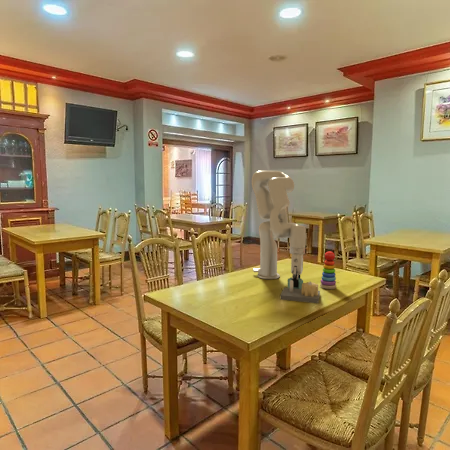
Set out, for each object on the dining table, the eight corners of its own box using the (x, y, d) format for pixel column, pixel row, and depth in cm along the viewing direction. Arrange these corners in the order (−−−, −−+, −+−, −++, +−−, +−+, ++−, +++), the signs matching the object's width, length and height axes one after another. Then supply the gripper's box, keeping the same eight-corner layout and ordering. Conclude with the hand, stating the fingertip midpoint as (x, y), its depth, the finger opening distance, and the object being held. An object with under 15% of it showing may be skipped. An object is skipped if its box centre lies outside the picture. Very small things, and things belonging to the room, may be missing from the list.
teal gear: (286, 289, 174) (286, 281, 174) (288, 284, 181) (289, 276, 181) (301, 291, 172) (302, 282, 171) (303, 286, 179) (303, 278, 178)
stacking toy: (337, 290, 174) (338, 253, 172) (320, 289, 176) (321, 252, 173) (335, 285, 182) (336, 250, 180) (319, 284, 184) (320, 249, 181)
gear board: (280, 299, 162) (280, 282, 161) (284, 291, 173) (284, 276, 172) (318, 303, 156) (318, 286, 155) (319, 294, 168) (320, 278, 167)
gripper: (303, 254, 164) (301, 290, 167) (306, 247, 181) (305, 280, 183) (287, 253, 166) (285, 289, 169) (291, 246, 183) (290, 278, 186)
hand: (295, 284), depth 176 cm, fingers closed on teal gear, 7 cm apart
